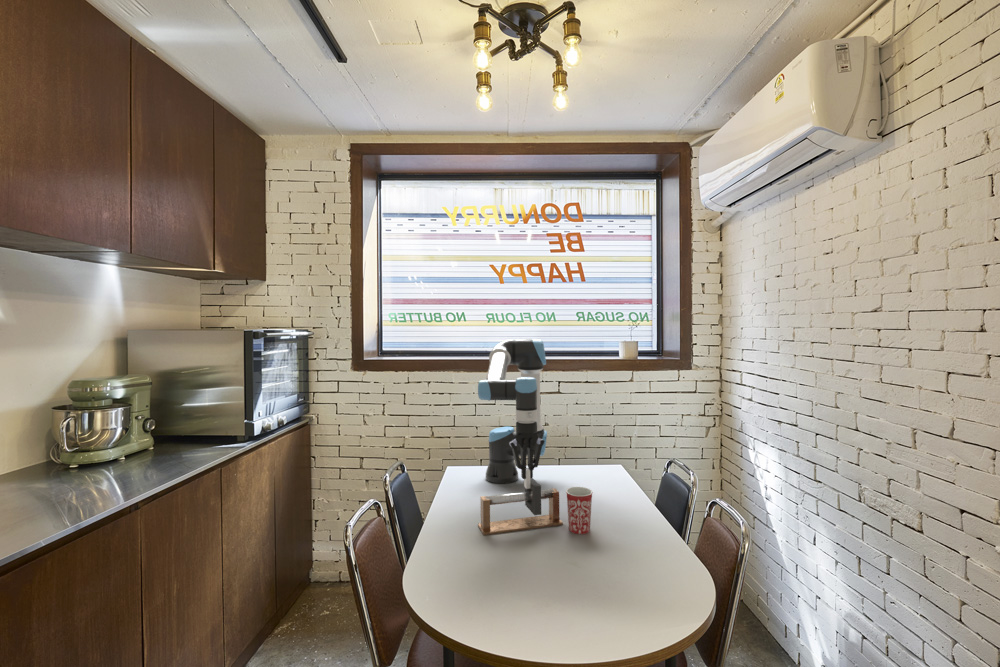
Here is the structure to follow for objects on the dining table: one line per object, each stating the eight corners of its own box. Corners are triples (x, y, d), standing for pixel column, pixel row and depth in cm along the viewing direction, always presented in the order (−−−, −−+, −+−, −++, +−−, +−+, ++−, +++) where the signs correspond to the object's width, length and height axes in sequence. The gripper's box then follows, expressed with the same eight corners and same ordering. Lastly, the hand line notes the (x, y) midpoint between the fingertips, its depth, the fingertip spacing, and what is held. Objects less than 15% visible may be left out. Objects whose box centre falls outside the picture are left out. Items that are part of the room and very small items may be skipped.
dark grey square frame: (534, 515, 164) (534, 486, 164) (525, 505, 174) (524, 477, 174) (541, 514, 165) (540, 485, 165) (531, 504, 175) (531, 477, 175)
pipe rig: (483, 535, 161) (483, 501, 160) (478, 525, 168) (477, 493, 168) (563, 524, 168) (562, 492, 168) (554, 516, 176) (554, 484, 176)
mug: (593, 536, 159) (593, 496, 159) (566, 534, 160) (565, 495, 160) (592, 521, 171) (591, 483, 171) (566, 519, 173) (566, 482, 173)
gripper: (512, 424, 163) (512, 492, 163) (547, 422, 167) (548, 488, 167) (505, 420, 170) (506, 485, 171) (540, 418, 174) (540, 482, 174)
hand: (527, 487), depth 169 cm, fingers closed
